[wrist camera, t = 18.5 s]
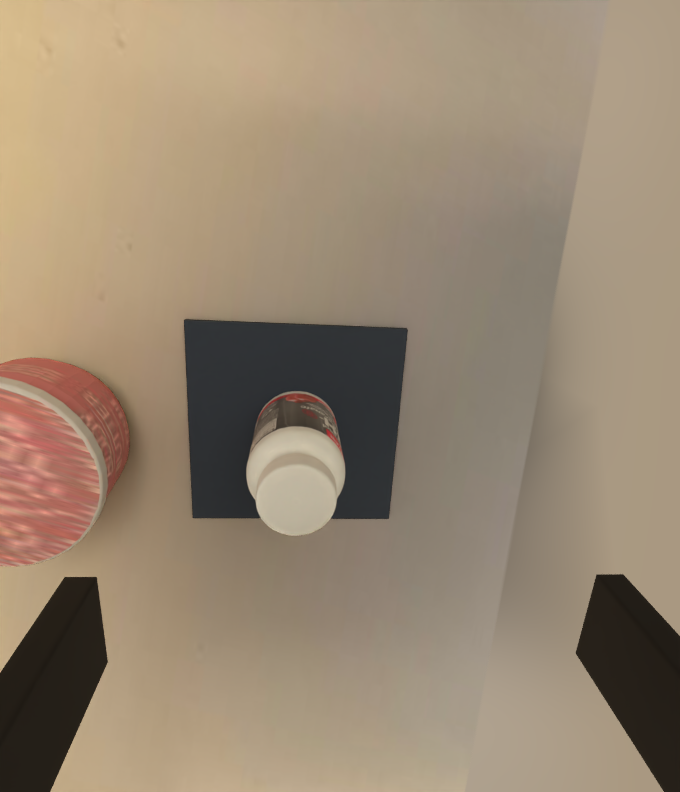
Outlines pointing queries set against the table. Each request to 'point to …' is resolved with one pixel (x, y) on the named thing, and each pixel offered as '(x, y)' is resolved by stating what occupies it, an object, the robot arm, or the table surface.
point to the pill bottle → (296, 463)
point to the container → (54, 457)
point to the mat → (284, 372)
